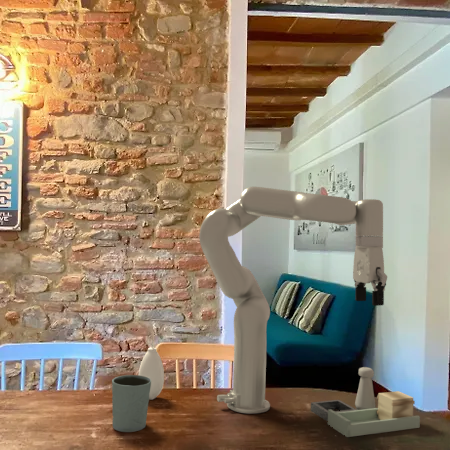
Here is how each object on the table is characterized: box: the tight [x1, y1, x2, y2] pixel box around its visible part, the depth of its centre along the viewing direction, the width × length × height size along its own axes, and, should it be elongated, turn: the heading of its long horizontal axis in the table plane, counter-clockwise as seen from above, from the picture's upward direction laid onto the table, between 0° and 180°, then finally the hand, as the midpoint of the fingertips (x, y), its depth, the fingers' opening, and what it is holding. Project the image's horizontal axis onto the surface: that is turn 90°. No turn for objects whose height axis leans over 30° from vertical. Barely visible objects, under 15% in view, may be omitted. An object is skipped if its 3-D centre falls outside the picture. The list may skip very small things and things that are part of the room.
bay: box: [327, 407, 421, 438], centre depth 142 cm, size 23×9×4 cm, turn 111°
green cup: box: [111, 374, 151, 433], centre depth 137 cm, size 10×10×12 cm
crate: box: [376, 390, 416, 420], centre depth 144 cm, size 7×7×7 cm
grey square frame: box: [310, 399, 357, 422], centre depth 150 cm, size 10×10×2 cm
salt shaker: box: [354, 366, 377, 410], centre depth 152 cm, size 6×6×13 cm
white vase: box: [137, 339, 165, 401], centre depth 159 cm, size 8×8×18 cm
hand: (369, 303), depth 148 cm, fingers open, 9 cm apart
